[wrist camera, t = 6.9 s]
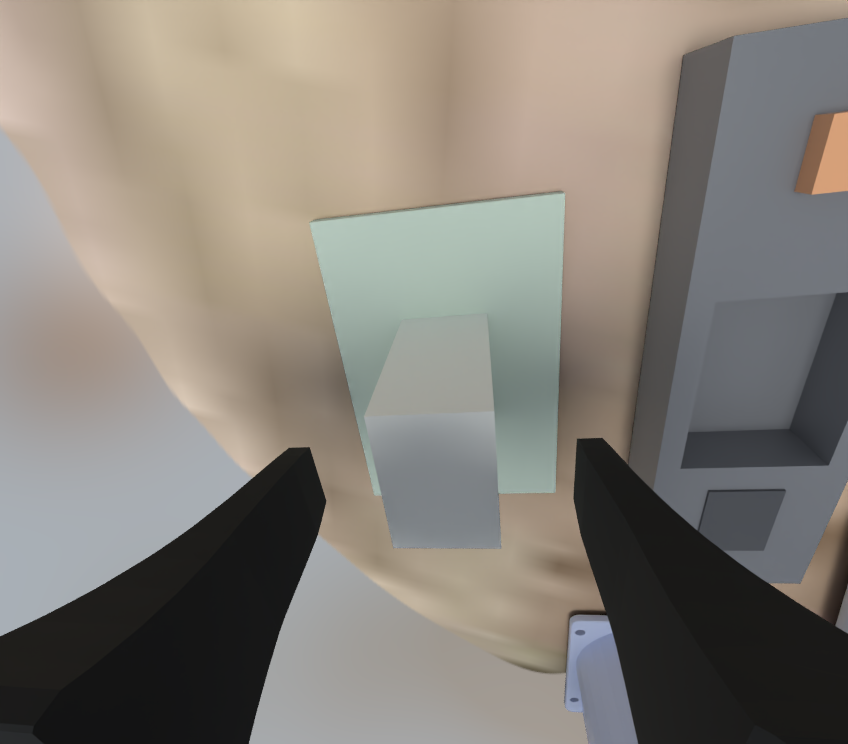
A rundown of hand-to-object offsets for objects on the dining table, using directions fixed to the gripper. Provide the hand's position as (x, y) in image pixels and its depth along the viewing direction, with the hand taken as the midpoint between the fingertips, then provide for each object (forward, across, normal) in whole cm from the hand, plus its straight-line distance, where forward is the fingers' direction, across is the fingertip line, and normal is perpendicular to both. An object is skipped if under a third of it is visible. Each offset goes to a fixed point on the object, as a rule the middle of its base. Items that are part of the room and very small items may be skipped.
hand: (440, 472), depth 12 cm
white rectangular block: (+5, 0, 0) cm, 5 cm away
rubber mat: (+6, 0, 0) cm, 6 cm away
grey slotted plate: (+6, -10, 0) cm, 12 cm away
